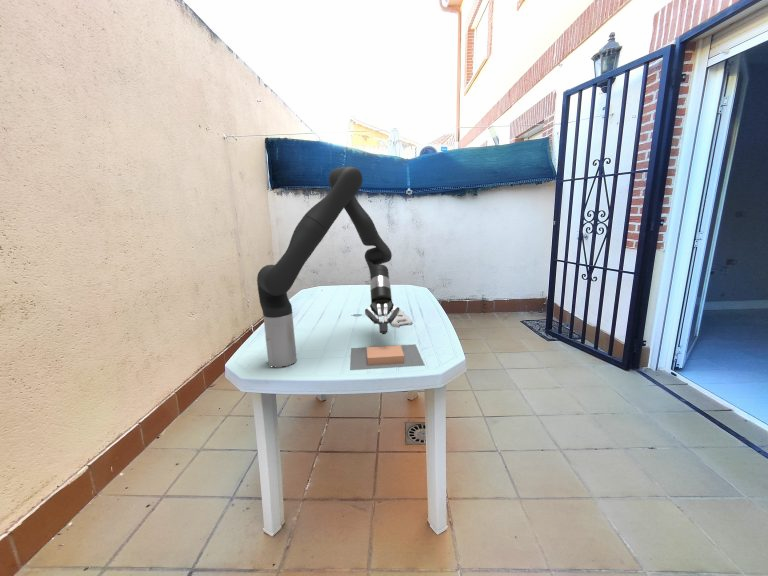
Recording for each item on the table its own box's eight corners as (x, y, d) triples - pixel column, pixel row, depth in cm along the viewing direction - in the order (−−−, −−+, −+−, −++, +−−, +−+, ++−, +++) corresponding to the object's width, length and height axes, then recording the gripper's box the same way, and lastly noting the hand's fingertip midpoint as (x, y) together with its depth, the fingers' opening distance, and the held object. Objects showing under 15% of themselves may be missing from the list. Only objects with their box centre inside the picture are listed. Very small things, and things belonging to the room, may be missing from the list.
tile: (367, 354, 120) (367, 365, 111) (366, 347, 119) (367, 358, 111) (400, 351, 121) (404, 362, 112) (400, 345, 120) (404, 355, 111)
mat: (350, 371, 108) (349, 370, 108) (351, 349, 126) (351, 348, 126) (424, 366, 110) (424, 365, 110) (415, 345, 127) (415, 344, 127)
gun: (383, 309, 163) (403, 307, 166) (383, 316, 164) (403, 314, 167) (393, 322, 146) (415, 320, 149) (393, 330, 147) (415, 328, 150)
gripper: (362, 286, 123) (364, 329, 114) (399, 284, 124) (403, 327, 115) (363, 296, 129) (365, 339, 120) (397, 295, 130) (402, 336, 121)
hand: (384, 333), depth 117 cm, fingers closed
